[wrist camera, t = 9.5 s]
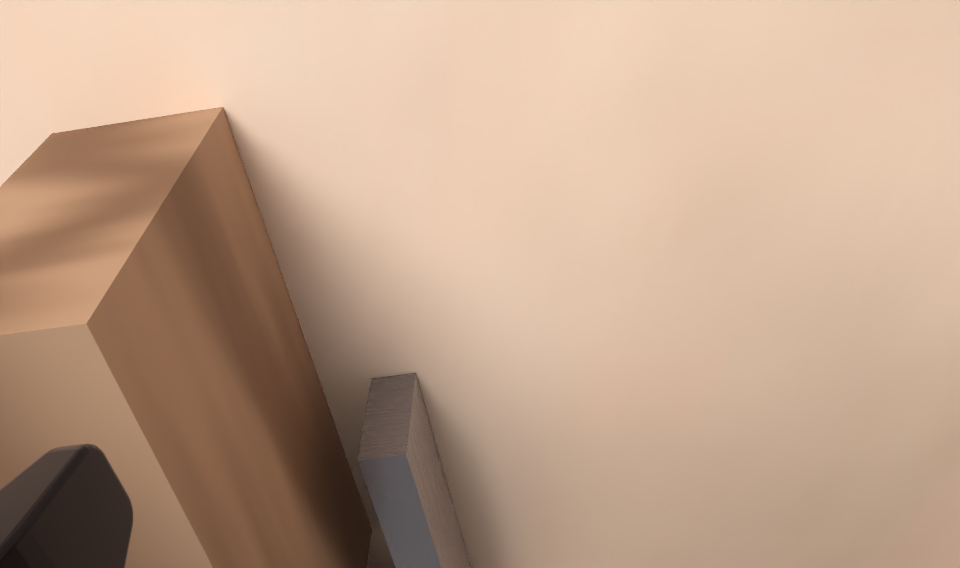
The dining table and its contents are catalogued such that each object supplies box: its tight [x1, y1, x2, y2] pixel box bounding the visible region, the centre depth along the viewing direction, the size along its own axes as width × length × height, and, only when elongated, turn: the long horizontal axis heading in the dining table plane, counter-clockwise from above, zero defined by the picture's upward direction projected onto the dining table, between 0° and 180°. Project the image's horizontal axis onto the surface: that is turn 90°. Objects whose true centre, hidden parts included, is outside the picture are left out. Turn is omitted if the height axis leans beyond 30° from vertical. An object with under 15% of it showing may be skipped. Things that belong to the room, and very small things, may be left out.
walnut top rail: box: [0, 107, 372, 568], centre depth 20 cm, size 4×14×8 cm, turn 10°
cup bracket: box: [357, 373, 470, 568], centre depth 25 cm, size 9×9×3 cm
